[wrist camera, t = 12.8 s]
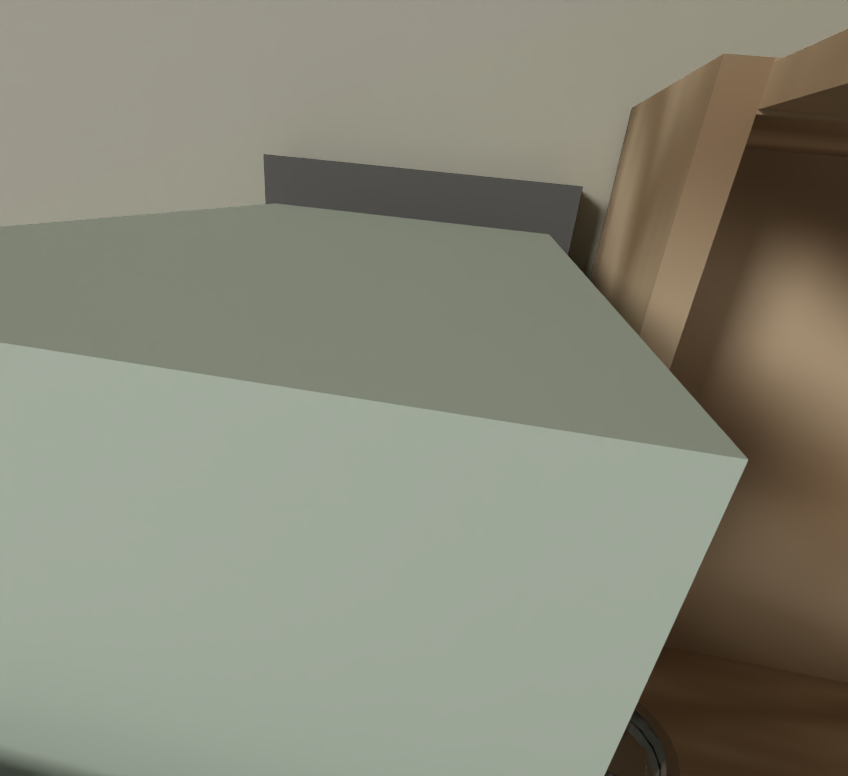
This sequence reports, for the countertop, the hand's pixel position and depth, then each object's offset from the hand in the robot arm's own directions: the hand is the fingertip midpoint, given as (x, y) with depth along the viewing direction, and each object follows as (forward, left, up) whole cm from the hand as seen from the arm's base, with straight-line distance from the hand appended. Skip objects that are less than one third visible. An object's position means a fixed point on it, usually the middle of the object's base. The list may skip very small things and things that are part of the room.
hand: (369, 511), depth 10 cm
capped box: (-1, 0, -2) cm, 2 cm away
